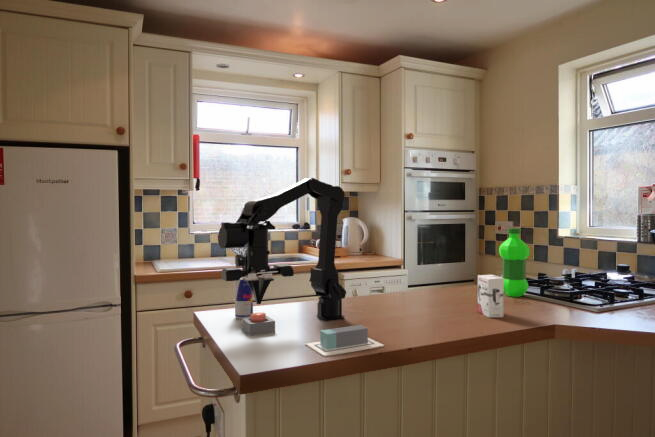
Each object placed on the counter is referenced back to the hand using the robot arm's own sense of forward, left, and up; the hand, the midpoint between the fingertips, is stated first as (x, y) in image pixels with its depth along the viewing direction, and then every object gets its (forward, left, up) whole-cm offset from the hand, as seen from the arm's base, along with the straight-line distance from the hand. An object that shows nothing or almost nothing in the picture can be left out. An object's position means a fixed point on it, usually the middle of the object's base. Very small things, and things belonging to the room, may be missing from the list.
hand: (258, 304), depth 124 cm
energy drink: (-1, -17, -8) cm, 19 cm away
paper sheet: (-14, +23, -7) cm, 28 cm away
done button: (0, 0, -5) cm, 5 cm away
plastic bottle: (-100, -2, -8) cm, 100 cm away
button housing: (0, 0, -7) cm, 7 cm away
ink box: (-69, +16, -8) cm, 71 cm away
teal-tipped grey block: (-14, +23, -7) cm, 28 cm away
